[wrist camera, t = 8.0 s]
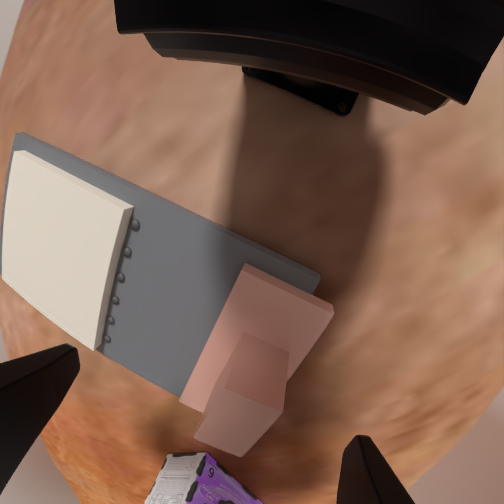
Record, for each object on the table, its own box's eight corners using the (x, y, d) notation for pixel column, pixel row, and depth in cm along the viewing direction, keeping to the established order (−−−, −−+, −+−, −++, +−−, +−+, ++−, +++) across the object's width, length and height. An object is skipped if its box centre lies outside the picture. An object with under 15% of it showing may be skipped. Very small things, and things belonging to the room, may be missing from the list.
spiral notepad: (144, 211, 18) (134, 215, 17) (109, 348, 22) (101, 356, 20) (24, 150, 18) (14, 151, 17) (10, 274, 22) (1, 278, 21)
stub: (332, 304, 17) (343, 370, 12) (249, 420, 21) (234, 482, 15) (245, 262, 17) (217, 314, 12) (183, 391, 21) (153, 449, 16)
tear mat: (319, 274, 18) (320, 280, 17) (231, 411, 23) (229, 419, 22) (23, 132, 18) (15, 132, 18) (6, 269, 23) (-1, 273, 22)
